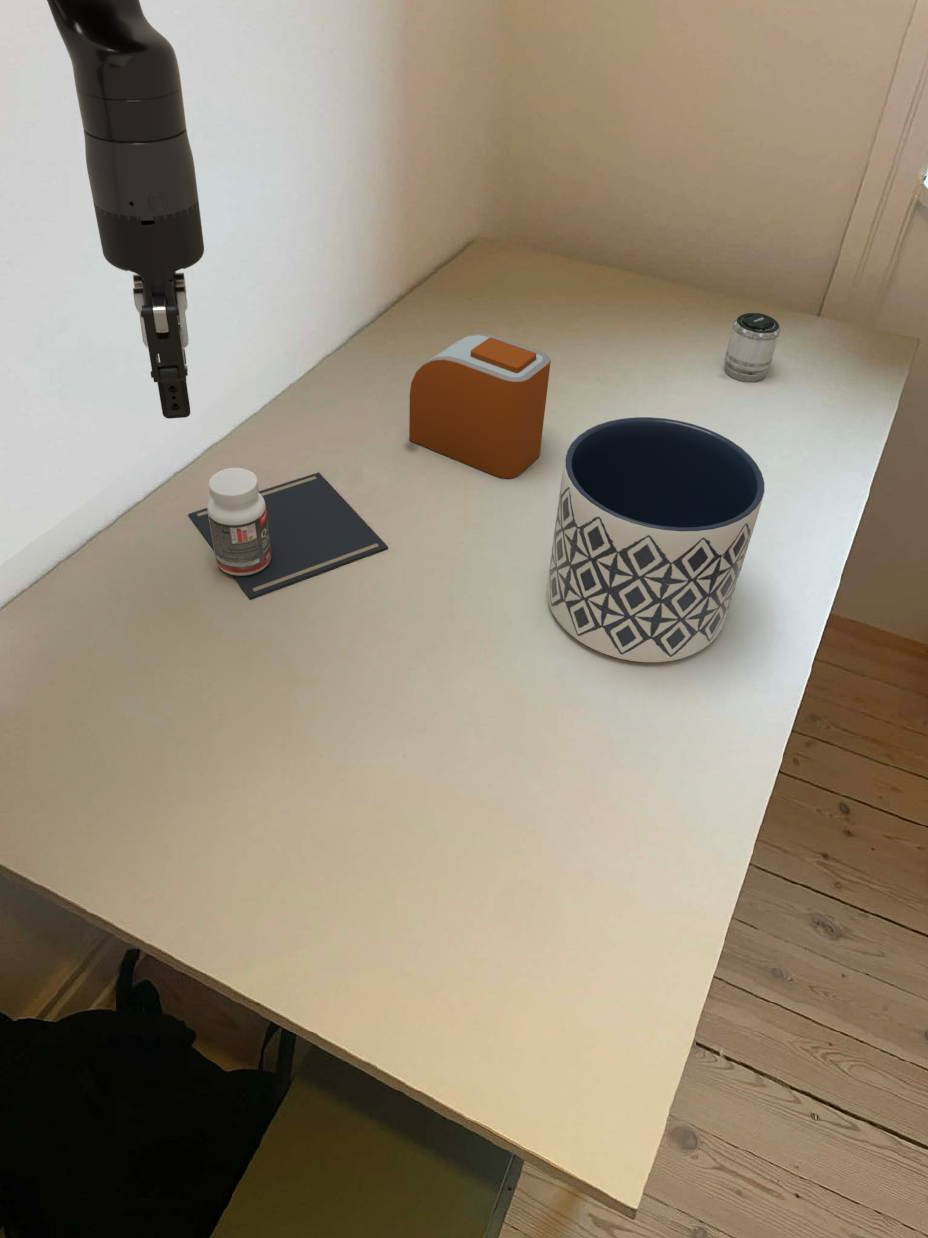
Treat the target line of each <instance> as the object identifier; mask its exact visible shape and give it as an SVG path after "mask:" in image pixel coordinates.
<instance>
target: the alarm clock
mask: <svg viewBox="0 0 928 1238" xmlns="http://www.w3.org/2000/svg"><path fill="white" fill-rule="evenodd" d="M551 361H552V360H551V358H550V356H549V355H548V354H547V353H546V352H543V351H540V350H537V349H534V348H531V347H529V346H526V345H523V344H521V343H517V342H515V341H512V340H509V339H506V338H503V337H500V336H497V335H494V334H489V333H485V332H480V333H470V334H468V335H466V336H464V337H462V338H460V339H458V340H457V341H456V342H454V343H453V344H450V345H449V346H448V347H447V348H445V349H444V350H442V351H440V352H439V353H438V354H436V355H435V356H433V357H432V358H430V359H429V360H427V361H425V362H424V363H423V364H422V365H421V366H420V367H419V368H418V369H417V370H416V371H415V374H414V375H413V378H412V380H411V383H410V389H409V416H408V417H409V422H408V423H409V425H408V426H409V427H408V428H409V429H408V430H409V431H408V435H409V436H408V440H409V442H412V443H415V444H417V445H419V446H422V447H425V448H426V449H428V450H431V451H435V452H436V453H439V454H442V455H443V456H446V457H448V458H451V459H453V460H456V461H458V462H461V463H463V464H465V465H468V466H470V467H473V468H475V469H478V470H480V471H483V472H485V473H488V474H490V475H491V476H495V477H497V478H502V479H512V478H516V477H518V476H519V475H521V474H522V473H523V472H524V471H526V469H528V468H529V467H530V466H531V465H532V464H533V463H535V461H537V460H538V458H539V457H540V455H541V448H542V438H543V430H544V421H545V414H546V413H545V412H546V404H547V396H548V387H549V379H550V378H549V377H550V370H551Z"/></svg>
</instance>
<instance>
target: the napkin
mask: <svg viewBox="0 0 928 1238" xmlns="http://www.w3.org/2000/svg"><path fill="white" fill-rule="evenodd" d="M258 492H259V493H260V494H261V495H262V497H263V498H264V501H265V504H266V512H267V521H268V530H269V537H270V545H271V560H270V562H269V564H268V565H267V566H266V567H265V568H264V569H263V570H261V571H259V572H257V573H255V574H251V575H245V576H237V575H232V574H230V575H231V576H232V577H233V579H234V580H235V582H236V583H237V584H238V586H239V587H240V589H241V590H242V591H243V592H244V594H245V596H246V597H247V598H248V599H249V600H253V599H255V598H258V597H260V596H263V595H267V594H269V593H272V592H274V591H277V590H280V589H282V588H286V587H288V586H290V585H294V584H296V583H299V582H302V581H304V580H307V579H310V578H313V577H316V576H318V575H320V574H323V573H326V572H329V571H331V570H334V569H337V568H340V567H343V566H345V565H348V564H350V563H353V562H357V561H358V560H361V559H364V558H367V557H370V556H372V555H375V554H377V553H380V552H384V551H386V550H388V549H389V546H388V545H387V544H386V542H384V541H383V540H382V538H381V537H380V536H379V535H378V534H377V533H376V531H374V529H372V528H371V526H369V525H368V523H367V522H366V521H365V520H364V519H363V518H362V517H361V516H360V514H358V513H357V512H356V511H355V509H354V508H353V507H352V506H351V505H350V504H349V503H348V501H346V500H345V498H343V496H342V495H341V494H340V493H339V492H338V491H337V490H336V489H335V488H334V487H333V486H332V485H331V484H330V483H329V481H328V480H327V479H326V478H325V477H324V476H323V475H322V473H320V472H316V473H312V474H309V475H306V476H303V477H300V478H296V479H294V480H291V481H286V482H284V483H280V484H278V485H274V486H271V487H269V488H265V489H262V490H259V491H258ZM187 515H188V518H189V519H190V520H191V521H192V523H193V524H194V526H195V527H196V528H197V530H198V531H199V533H200V534H201V535H202V537H203V538H204V539H205V541H206V542H207V543H208V545H209V546H210V547H211V549H212V550H213V551H214V546H213V540H212V534H211V528H210V522H209V516H208V507H205V508H202V509H199V510H196V511H192V512H189V513H188V514H187Z"/></svg>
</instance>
